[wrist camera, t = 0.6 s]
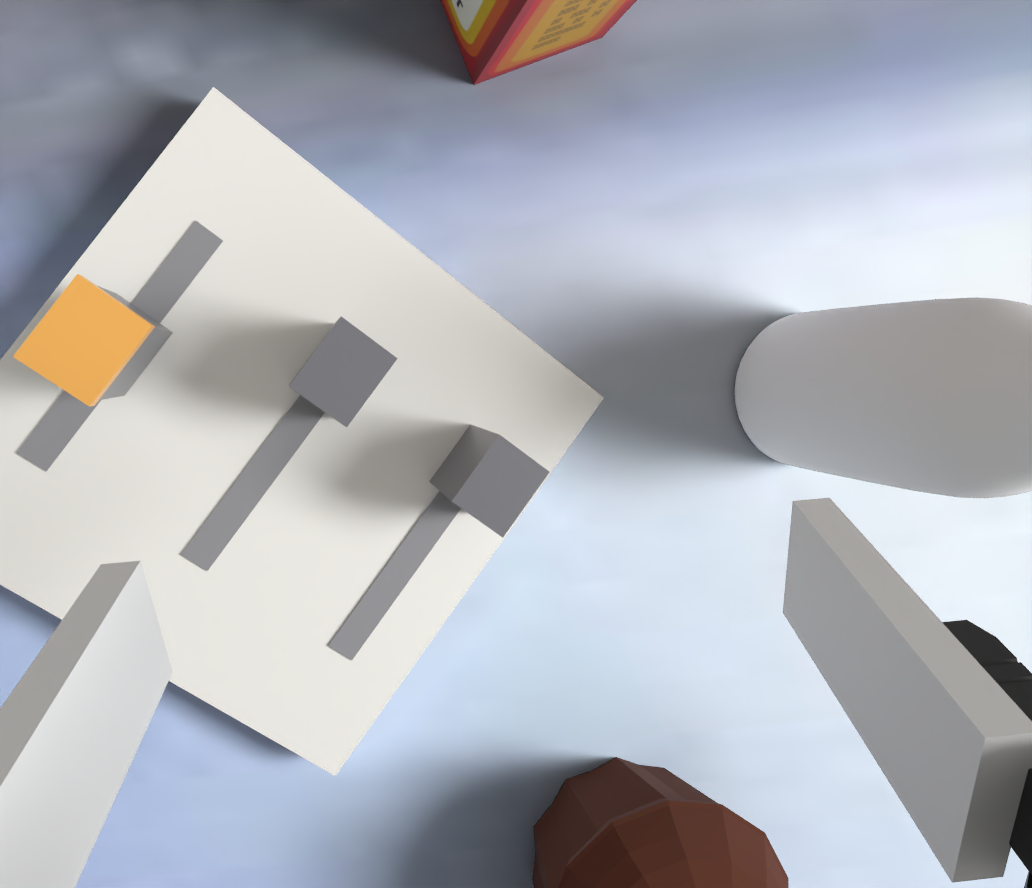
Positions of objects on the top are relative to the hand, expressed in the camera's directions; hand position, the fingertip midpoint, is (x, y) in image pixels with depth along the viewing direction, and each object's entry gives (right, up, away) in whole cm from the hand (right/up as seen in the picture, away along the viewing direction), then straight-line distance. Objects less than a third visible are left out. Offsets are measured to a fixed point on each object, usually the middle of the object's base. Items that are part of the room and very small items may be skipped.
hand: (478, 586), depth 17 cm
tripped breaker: (-14, +7, +14) cm, 21 cm away
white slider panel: (-9, +3, +19) cm, 21 cm away
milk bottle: (+15, +6, +25) cm, 30 cm away
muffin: (+6, -17, +25) cm, 31 cm away
